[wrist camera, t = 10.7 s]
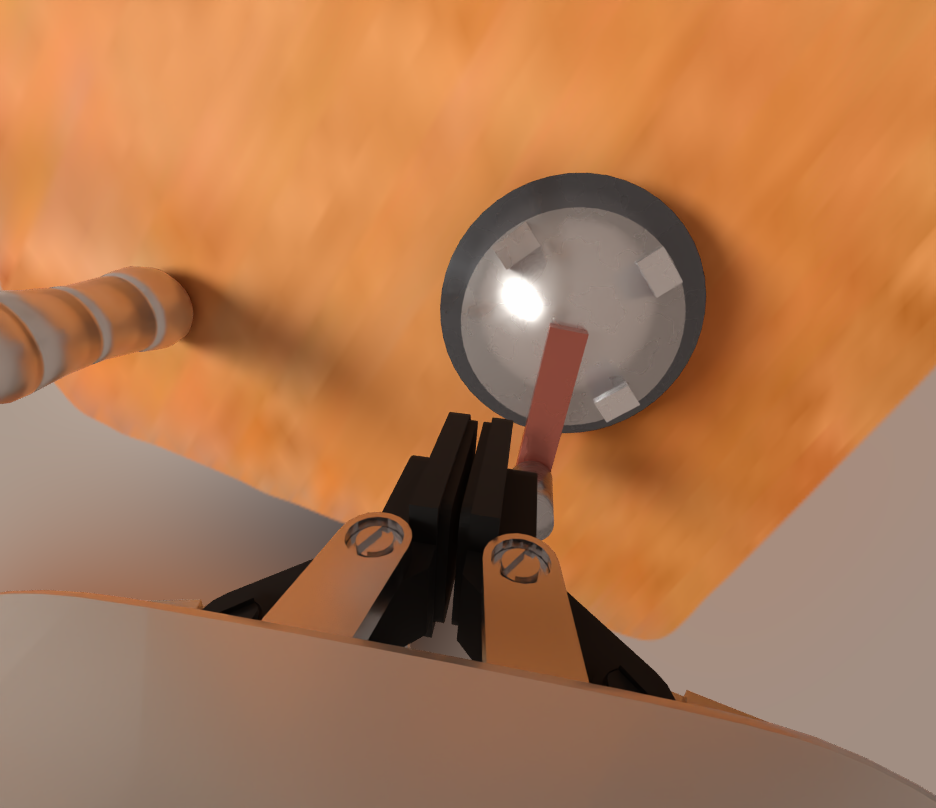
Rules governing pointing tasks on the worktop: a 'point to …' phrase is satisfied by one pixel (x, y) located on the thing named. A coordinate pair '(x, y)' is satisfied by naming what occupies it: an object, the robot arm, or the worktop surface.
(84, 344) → the plastic bottle
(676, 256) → the gray plate
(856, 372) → the worktop surface
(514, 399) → the crank handle wheel
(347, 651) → the robot arm
